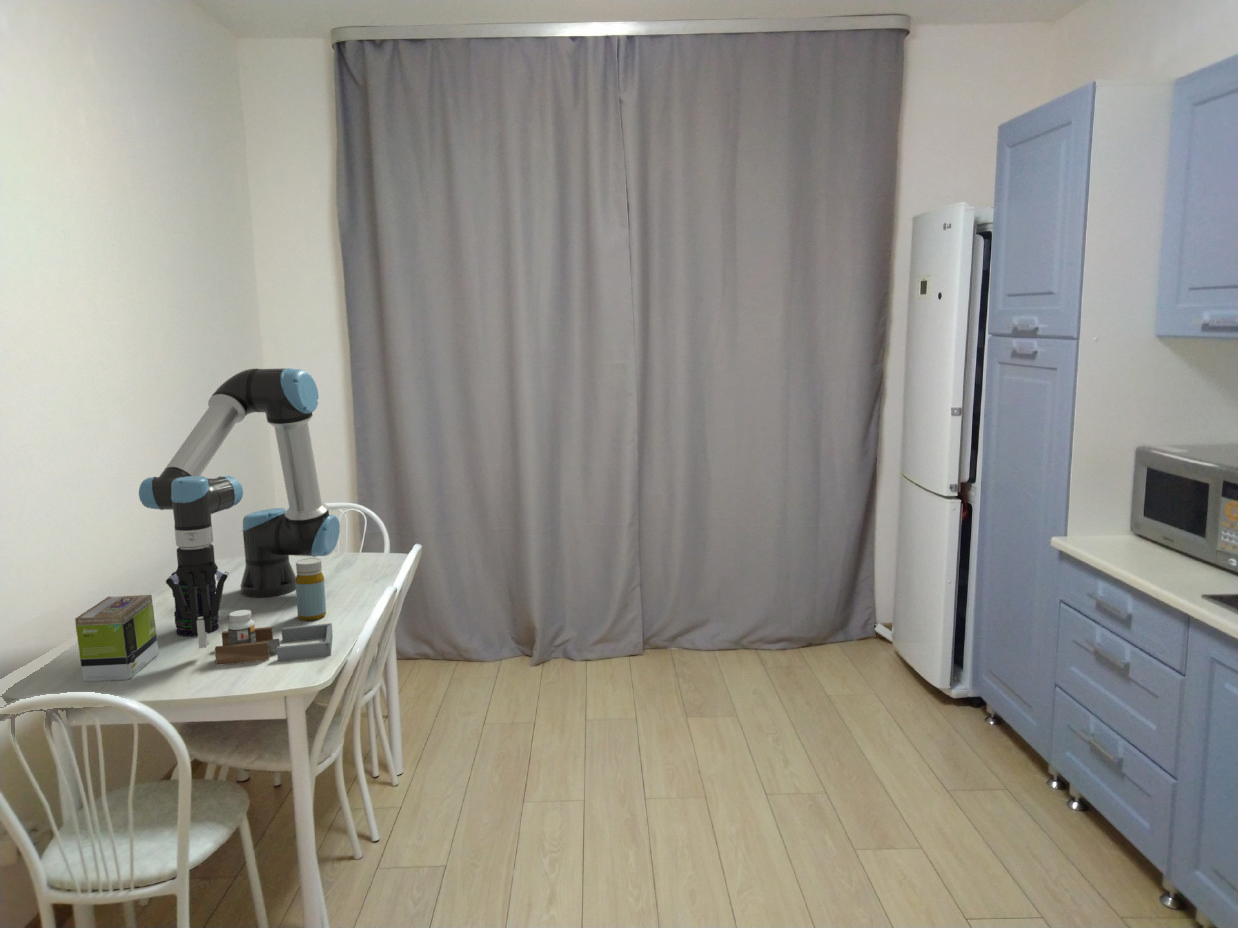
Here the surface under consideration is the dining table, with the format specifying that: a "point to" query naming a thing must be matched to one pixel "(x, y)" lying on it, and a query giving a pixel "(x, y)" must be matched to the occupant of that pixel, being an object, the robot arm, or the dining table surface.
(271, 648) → the grey square block
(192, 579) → the robot arm
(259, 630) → the slot
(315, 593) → the bottle
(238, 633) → the pill bottle
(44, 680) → the dining table surface
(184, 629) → the dark blue canister
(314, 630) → the frame
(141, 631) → the tea box
